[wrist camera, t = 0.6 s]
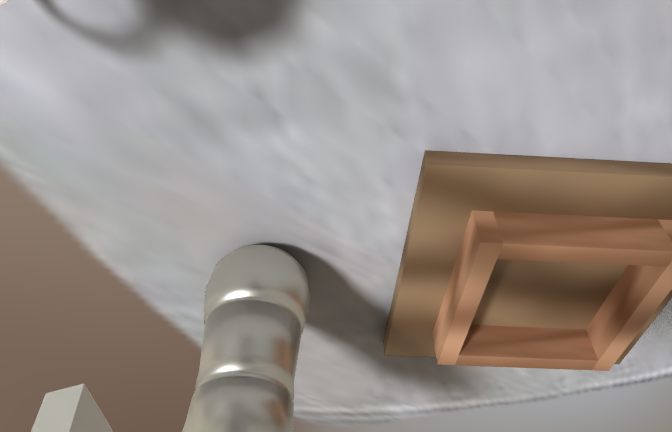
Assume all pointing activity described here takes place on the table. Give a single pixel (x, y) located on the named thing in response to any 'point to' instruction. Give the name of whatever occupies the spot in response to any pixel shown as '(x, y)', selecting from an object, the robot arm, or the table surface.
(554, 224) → the collar board
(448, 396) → the table surface
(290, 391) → the plastic bottle
